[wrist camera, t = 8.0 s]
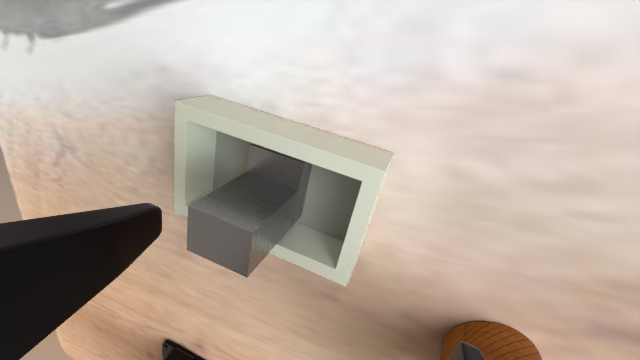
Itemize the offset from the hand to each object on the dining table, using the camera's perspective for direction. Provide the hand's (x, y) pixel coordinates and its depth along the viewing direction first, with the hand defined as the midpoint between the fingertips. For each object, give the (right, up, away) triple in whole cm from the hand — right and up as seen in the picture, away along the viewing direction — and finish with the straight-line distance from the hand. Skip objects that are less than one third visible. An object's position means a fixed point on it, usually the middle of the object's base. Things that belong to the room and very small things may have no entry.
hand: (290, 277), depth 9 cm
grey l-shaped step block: (-2, +3, +14) cm, 15 cm away
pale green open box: (-2, +3, +15) cm, 15 cm away
